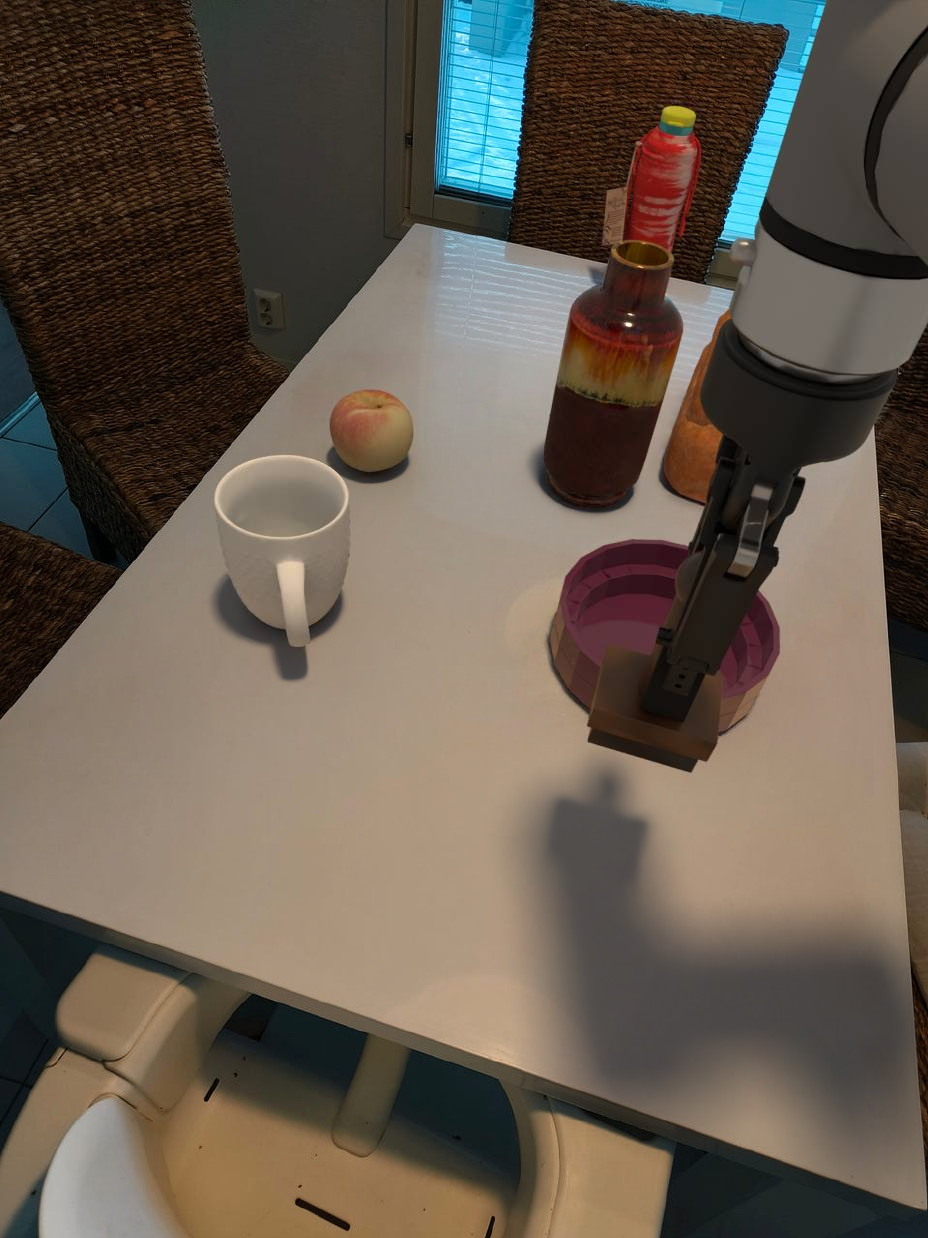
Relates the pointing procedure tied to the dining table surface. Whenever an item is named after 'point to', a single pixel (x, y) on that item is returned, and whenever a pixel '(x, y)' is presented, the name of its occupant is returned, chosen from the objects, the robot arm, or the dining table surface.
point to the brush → (645, 732)
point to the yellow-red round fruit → (371, 430)
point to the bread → (694, 435)
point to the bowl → (648, 621)
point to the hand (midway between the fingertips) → (666, 689)
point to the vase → (612, 377)
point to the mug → (285, 539)
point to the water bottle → (657, 183)
